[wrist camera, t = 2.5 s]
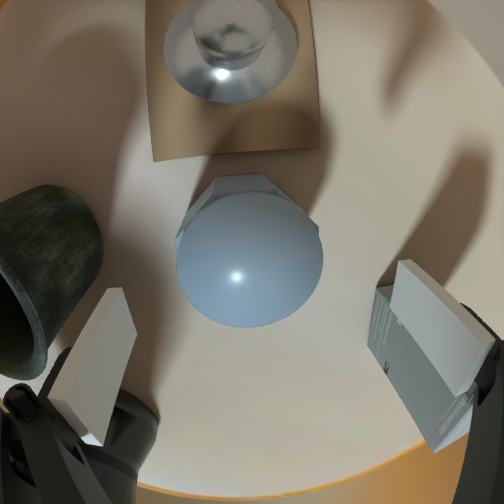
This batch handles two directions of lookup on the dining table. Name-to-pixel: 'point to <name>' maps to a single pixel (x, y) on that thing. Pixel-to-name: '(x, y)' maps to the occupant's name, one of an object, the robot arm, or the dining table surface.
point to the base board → (230, 115)
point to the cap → (247, 252)
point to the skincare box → (417, 378)
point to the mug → (42, 273)
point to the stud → (230, 49)
